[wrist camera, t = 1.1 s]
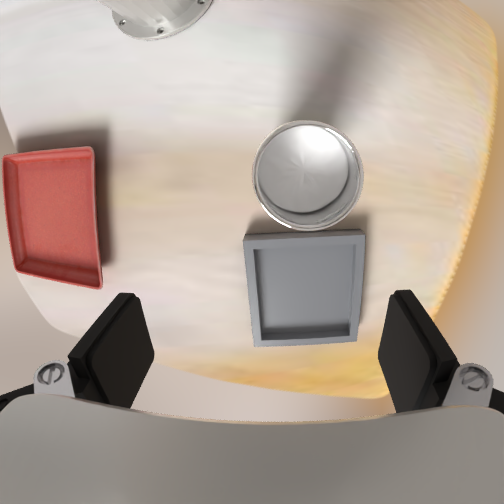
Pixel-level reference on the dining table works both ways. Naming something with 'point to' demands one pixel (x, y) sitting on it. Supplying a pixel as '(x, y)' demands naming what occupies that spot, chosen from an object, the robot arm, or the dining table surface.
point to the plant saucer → (53, 215)
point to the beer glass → (307, 175)
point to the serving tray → (304, 286)
